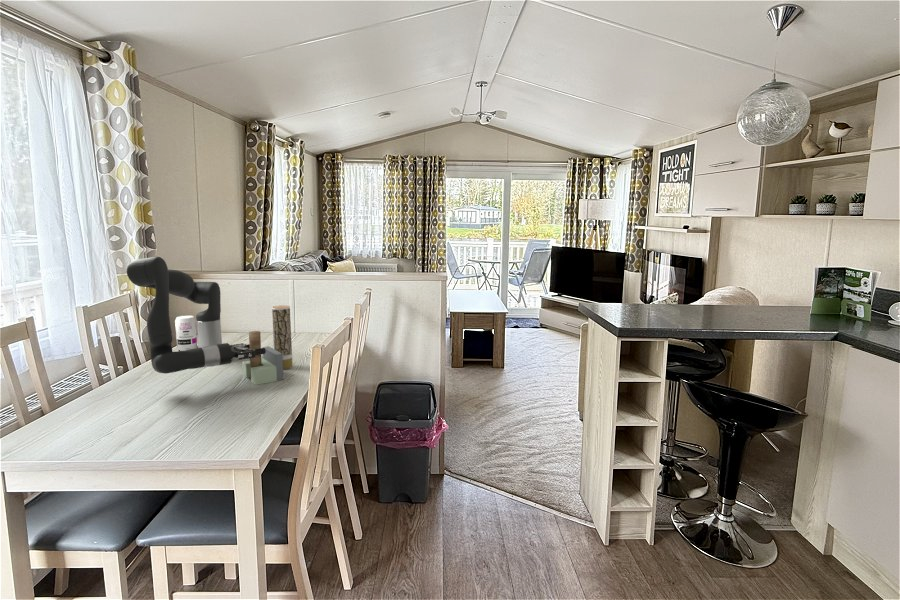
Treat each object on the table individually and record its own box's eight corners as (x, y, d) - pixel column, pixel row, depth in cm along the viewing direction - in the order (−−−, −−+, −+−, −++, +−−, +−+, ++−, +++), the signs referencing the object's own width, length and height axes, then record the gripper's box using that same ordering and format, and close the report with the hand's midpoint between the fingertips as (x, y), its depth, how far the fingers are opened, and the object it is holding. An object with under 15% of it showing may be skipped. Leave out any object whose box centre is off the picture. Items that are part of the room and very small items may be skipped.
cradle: (243, 375, 204) (242, 361, 204) (263, 371, 209) (263, 358, 208) (255, 385, 194) (254, 370, 193) (276, 380, 199) (276, 366, 198)
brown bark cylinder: (287, 370, 211) (284, 308, 207) (271, 369, 213) (268, 307, 209) (295, 365, 218) (293, 305, 214) (280, 364, 219) (277, 305, 215)
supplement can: (191, 346, 248) (188, 314, 245) (200, 348, 243) (198, 316, 241) (173, 349, 241) (171, 317, 239) (183, 352, 237) (180, 319, 234)
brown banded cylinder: (249, 378, 201) (247, 331, 198) (259, 376, 204) (258, 330, 200) (252, 381, 198) (250, 334, 195) (263, 379, 200) (261, 332, 197)
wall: (263, 371, 209) (262, 347, 208) (270, 370, 211) (268, 346, 209) (276, 380, 199) (275, 354, 197) (283, 379, 200) (282, 353, 198)
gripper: (221, 349, 184) (267, 342, 194) (209, 341, 195) (254, 335, 205) (222, 369, 186) (268, 362, 195) (211, 360, 197) (255, 353, 206)
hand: (261, 348), depth 200 cm, fingers open, 8 cm apart
